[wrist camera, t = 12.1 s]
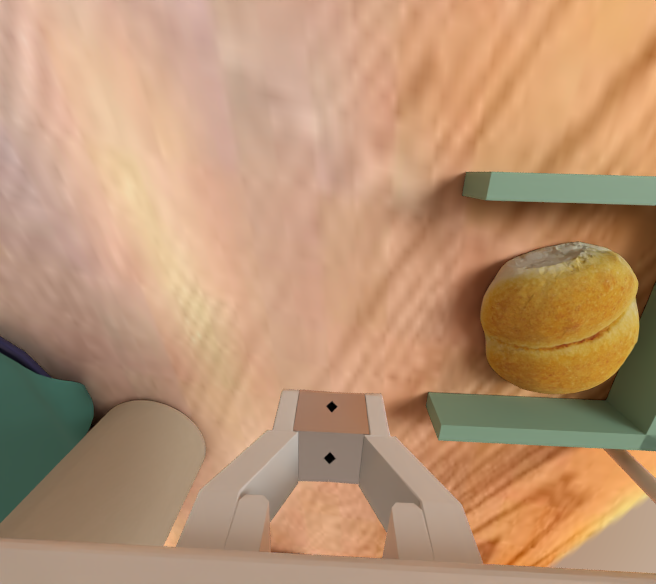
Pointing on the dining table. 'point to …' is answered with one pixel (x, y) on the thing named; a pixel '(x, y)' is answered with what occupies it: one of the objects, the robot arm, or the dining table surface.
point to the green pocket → (557, 413)
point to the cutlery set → (35, 423)
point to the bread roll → (561, 318)
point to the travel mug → (116, 481)
